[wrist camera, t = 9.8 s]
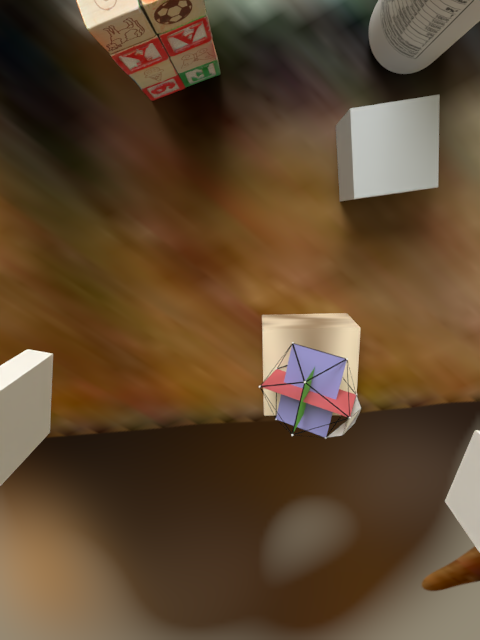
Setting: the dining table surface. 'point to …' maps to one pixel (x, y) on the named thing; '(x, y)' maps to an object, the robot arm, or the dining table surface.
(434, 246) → the dining table surface
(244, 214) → the dining table surface
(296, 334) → the beech block
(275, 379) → the geometric puzzle
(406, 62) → the energy drink can
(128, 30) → the stack of blocks
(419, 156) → the grey block
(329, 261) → the dining table surface
